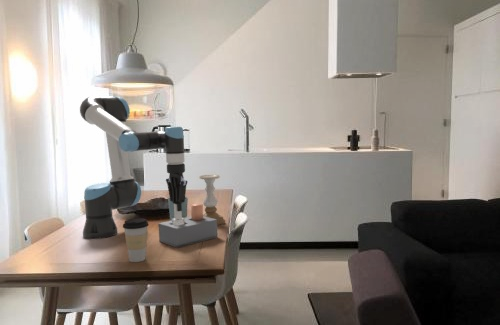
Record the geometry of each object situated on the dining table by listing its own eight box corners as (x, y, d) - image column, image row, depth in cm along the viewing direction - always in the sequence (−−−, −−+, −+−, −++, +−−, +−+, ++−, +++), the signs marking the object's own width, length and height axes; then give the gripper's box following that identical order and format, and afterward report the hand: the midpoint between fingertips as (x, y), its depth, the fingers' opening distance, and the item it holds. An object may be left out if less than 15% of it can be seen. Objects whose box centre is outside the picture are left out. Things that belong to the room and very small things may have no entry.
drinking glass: (165, 222, 218) (164, 199, 217) (173, 218, 228) (172, 196, 227) (184, 223, 216) (183, 200, 215) (191, 218, 226) (190, 196, 224)
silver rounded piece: (177, 237, 179) (176, 221, 178) (170, 235, 183) (169, 219, 182) (187, 234, 183) (186, 218, 182) (180, 232, 186) (179, 216, 186)
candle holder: (225, 223, 213) (224, 176, 211) (206, 226, 208) (204, 178, 205) (216, 219, 222) (214, 174, 220) (196, 222, 217) (194, 175, 214)
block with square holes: (177, 247, 174) (176, 228, 173) (159, 241, 184) (158, 223, 184) (217, 237, 188) (217, 219, 188) (198, 231, 199) (198, 214, 198)
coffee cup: (127, 265, 155) (125, 224, 153) (122, 258, 163) (120, 219, 161) (153, 260, 159) (151, 221, 157) (147, 254, 167) (145, 216, 166)
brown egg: (196, 222, 185) (195, 206, 185) (189, 220, 189) (188, 205, 188) (205, 220, 189) (205, 204, 188) (198, 218, 193) (198, 203, 192)
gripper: (192, 163, 177) (194, 219, 180) (174, 161, 187) (177, 214, 189) (176, 165, 172) (179, 222, 175) (159, 163, 182) (162, 217, 184)
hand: (178, 218), depth 182 cm, fingers closed
